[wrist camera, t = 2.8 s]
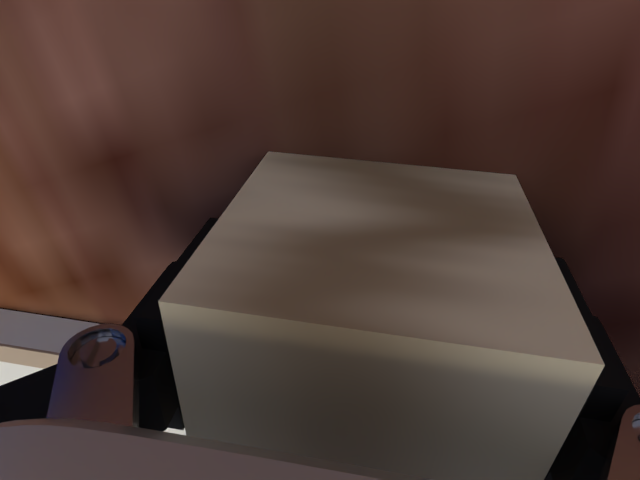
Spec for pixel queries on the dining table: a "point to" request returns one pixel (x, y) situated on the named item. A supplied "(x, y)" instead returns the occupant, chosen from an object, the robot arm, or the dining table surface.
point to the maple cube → (381, 322)
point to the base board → (35, 344)
